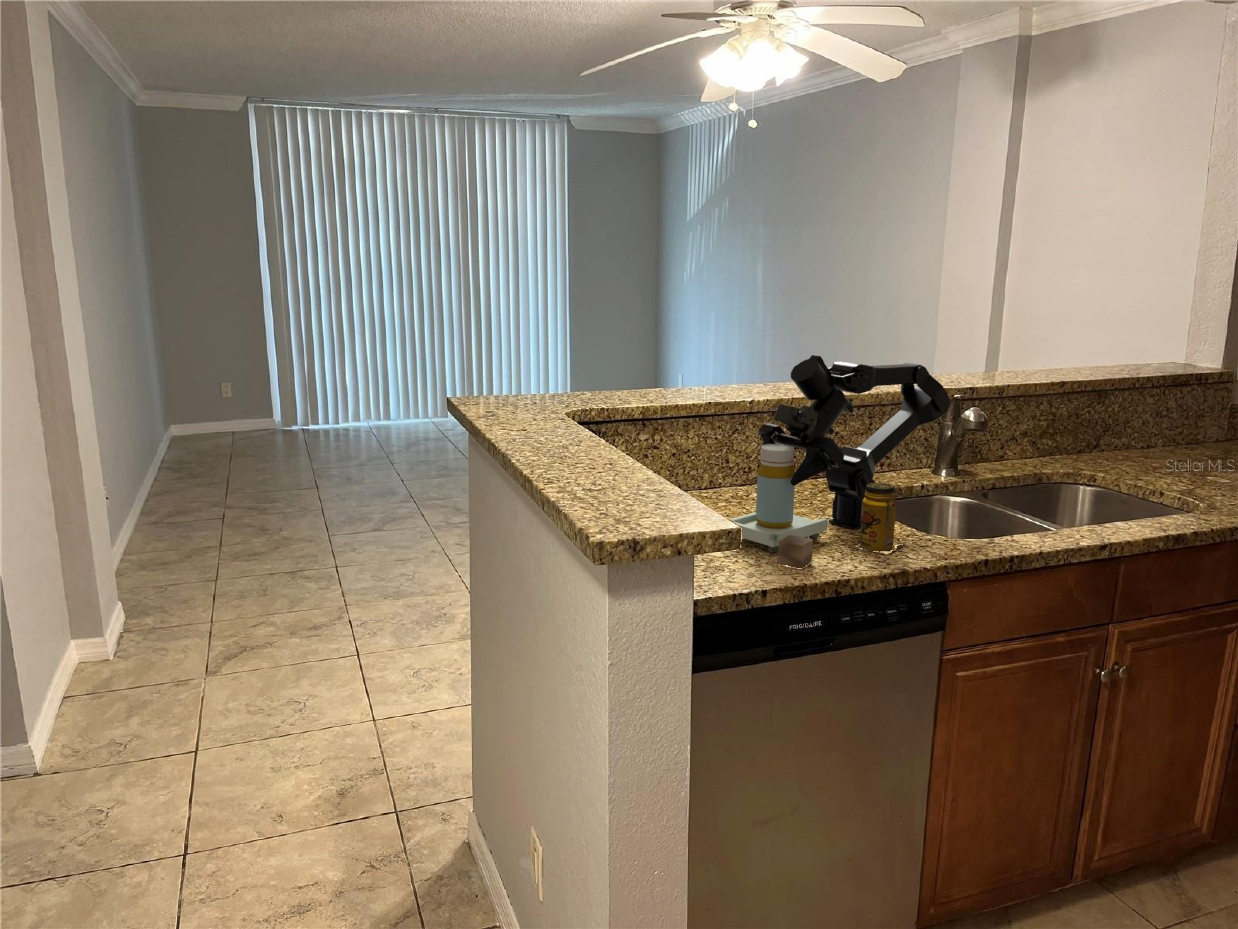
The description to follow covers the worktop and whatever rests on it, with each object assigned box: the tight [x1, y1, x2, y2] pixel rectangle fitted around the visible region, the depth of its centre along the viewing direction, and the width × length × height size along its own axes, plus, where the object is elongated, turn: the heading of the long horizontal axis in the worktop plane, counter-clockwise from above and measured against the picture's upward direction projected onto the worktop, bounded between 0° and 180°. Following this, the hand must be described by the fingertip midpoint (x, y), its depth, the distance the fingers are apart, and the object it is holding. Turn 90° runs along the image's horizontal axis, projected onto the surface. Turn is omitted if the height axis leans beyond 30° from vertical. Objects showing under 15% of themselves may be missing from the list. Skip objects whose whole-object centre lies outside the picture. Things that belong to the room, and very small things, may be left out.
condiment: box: [852, 482, 907, 556], centre depth 172 cm, size 7×8×12 cm
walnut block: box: [777, 535, 814, 568], centre depth 163 cm, size 4×4×4 cm
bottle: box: [755, 444, 796, 529], centre depth 175 cm, size 7×7×15 cm
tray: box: [728, 511, 829, 554], centre depth 176 cm, size 12×16×4 cm
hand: (774, 478), depth 174 cm, fingers open, 9 cm apart
